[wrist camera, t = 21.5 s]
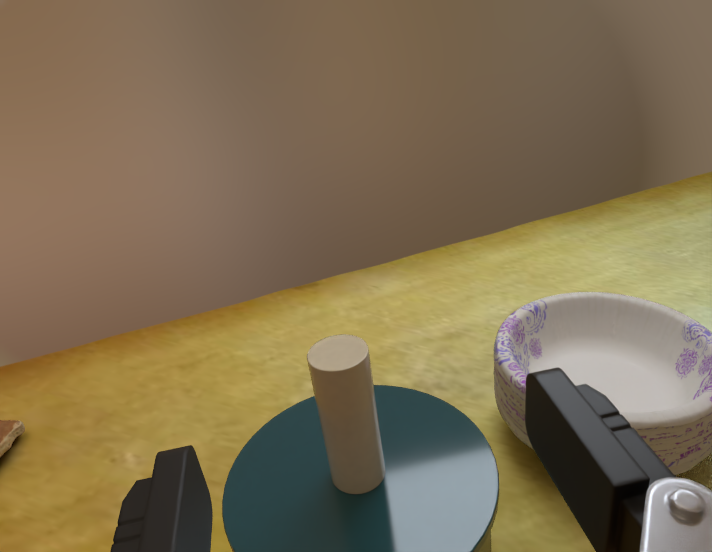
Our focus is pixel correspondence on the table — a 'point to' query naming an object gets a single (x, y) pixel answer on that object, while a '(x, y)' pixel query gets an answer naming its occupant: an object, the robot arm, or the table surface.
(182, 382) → the table surface
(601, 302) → the paper bowls
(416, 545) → the lid
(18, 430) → the pottery shard
